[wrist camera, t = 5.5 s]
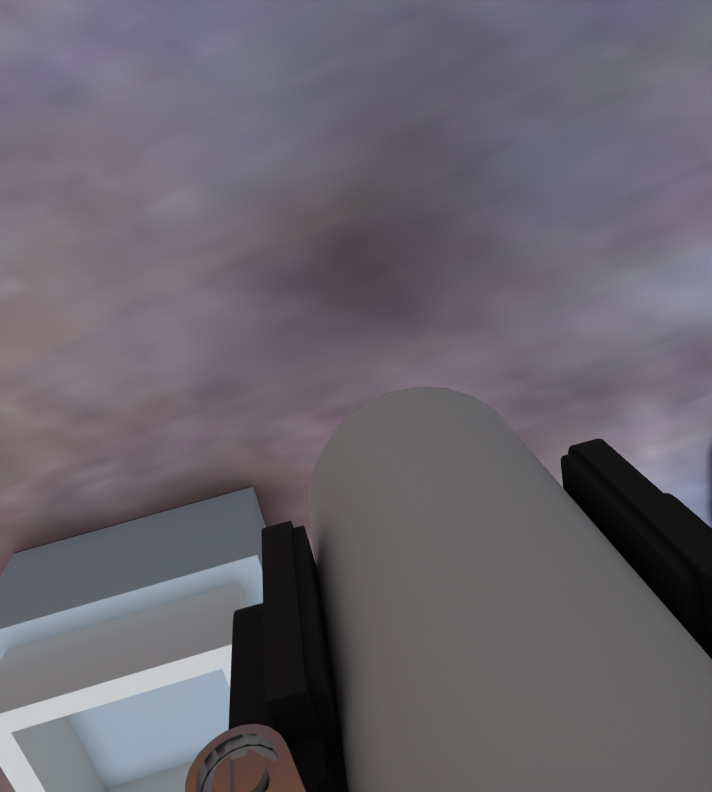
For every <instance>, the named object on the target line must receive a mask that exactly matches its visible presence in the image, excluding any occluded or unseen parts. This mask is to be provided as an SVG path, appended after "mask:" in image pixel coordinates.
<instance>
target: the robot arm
mask: <svg viewBox="0 0 712 792" xmlns="http://www.w3.org/2000/svg"><path fill="white" fill-rule="evenodd" d="M561 469H562V479H563V488H564V490H565V491H566V492H567V493H568V495H569V496H570V497H571V498H572V499H573V500H574V501H575V503H576V504H577V505H578V506H579V507H580V508H581V509H582V511H583V512H584V513H585V514H586V515H587V516H588V518H589V519H590V520H591V521H592V522H593V523H594V524H595V526H596V527H597V528H598V529H599V530H600V531H601V533H602V534H603V535H604V536H605V537H606V538H607V539H608V541H609V542H610V543H611V544H612V545H613V546H614V547H615V549H616V550H617V551H618V552H619V553H620V554H621V556H622V557H623V558H624V559H625V560H626V561H627V562H628V564H629V565H630V566H631V567H632V568H633V569H634V570H635V572H636V573H637V574H638V575H639V576H640V577H641V579H642V580H643V581H644V582H645V583H646V584H647V585H648V587H649V588H650V589H651V590H652V591H653V592H654V594H655V595H656V596H657V597H658V598H659V599H660V600H661V602H662V603H663V604H664V605H665V606H666V607H667V608H668V610H669V611H670V612H671V613H672V614H673V615H674V617H675V618H676V619H677V620H678V621H679V622H680V623H681V625H682V626H683V627H684V628H685V629H686V630H687V631H688V633H689V634H690V635H691V636H692V637H693V638H694V640H695V641H696V642H697V643H698V644H699V645H700V646H701V648H702V649H703V650H704V651H705V652H706V653H707V655H708V656H709V657H710V658H711V659H712V528H711V527H709V526H708V525H707V524H706V523H705V522H704V521H702V520H701V519H700V518H699V517H698V516H697V515H696V514H694V513H693V512H692V511H691V510H690V509H689V508H687V507H686V506H685V505H684V504H683V503H682V502H681V501H679V500H678V499H677V498H676V497H674V496H673V495H671V494H668V493H663V492H661V491H660V490H659V489H658V488H657V487H656V486H655V485H654V484H652V483H651V482H650V481H649V480H648V479H647V478H646V477H644V476H643V475H642V474H641V473H640V472H639V471H638V470H637V469H635V468H634V467H633V466H632V465H631V464H630V463H629V462H628V461H626V460H625V459H624V458H623V457H622V456H621V455H620V454H618V453H617V452H616V451H615V450H614V449H613V448H612V447H611V446H609V445H608V444H607V443H606V442H605V441H604V440H602V439H594V440H591V441H587V442H583V443H579V444H576V445H572V446H570V448H569V451H568V455H564V456H562V458H561ZM261 536H262V582H263V603H260V604H256V605H253V606H249V607H245V608H242V609H238V610H235V612H234V615H233V630H232V654H231V679H230V703H229V728H228V730H227V731H225V732H223V733H222V734H220V735H219V736H217V737H216V738H214V739H213V740H211V741H210V742H209V743H208V744H207V745H206V746H205V747H204V748H203V749H202V750H201V751H200V752H199V753H198V755H197V757H196V758H195V760H194V762H193V763H192V765H191V767H190V768H189V772H188V775H187V778H186V781H185V792H349V791H348V784H347V777H346V770H345V763H344V756H343V749H342V740H341V733H340V726H339V719H338V712H337V705H336V698H335V691H334V684H333V678H332V671H331V664H330V657H329V650H328V643H327V636H326V630H325V623H324V616H323V609H322V602H321V595H320V588H319V582H318V575H317V568H316V564H315V561H314V557H313V554H312V550H311V547H310V544H309V540H308V537H307V533H306V530H305V527H304V525H303V526H299V527H296V528H293V525H292V522H291V521H288V522H284V523H280V524H277V525H273V526H269V527H265V528H262V531H261Z"/></svg>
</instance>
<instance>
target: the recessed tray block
mask: <svg viewBox="0 0 712 792" xmlns="http://www.w3.org/2000/svg"><path fill="white" fill-rule="evenodd" d="M265 527H266V525H265V522H264V519H263V516H262V512H261V509H260V506H259V503H258V500H257V497H256V494H255V491H254V488H253V487H250V488H246V489H243V490H239V491H235V492H232V493H228V494H225V495H221V496H218V497H214V498H210V499H207V500H203V501H200V502H196V503H193V504H189V505H186V506H182V507H178V508H175V509H171V510H168V511H164V512H161V513H157V514H153V515H150V516H146V517H143V518H139V519H136V520H132V521H128V522H125V523H121V524H118V525H114V526H111V527H107V528H103V529H100V530H96V531H93V532H89V533H86V534H82V535H78V536H75V537H71V538H68V539H64V540H61V541H57V542H53V543H50V544H46V545H43V546H39V547H36V548H32V549H28V550H25V551H21V552H18V553H14V554H13V555H12V557H11V559H10V561H9V563H8V564H7V566H6V568H5V570H4V572H3V574H2V575H1V577H0V767H1V768H2V770H3V772H4V773H5V775H6V776H7V778H8V780H9V781H10V783H11V785H12V786H13V788H14V789H15V791H16V792H185V781H186V778H187V775H188V772H189V768H190V767H191V765H192V763H193V762H194V760H195V758H196V757H197V755H198V753H199V752H200V751H201V750H202V749H203V748H204V747H205V746H206V745H207V744H208V743H209V742H210V741H211V740H213V739H214V738H216V737H217V736H219V735H220V734H222V733H223V732H225V731H227V730H228V728H229V703H230V679H231V654H232V630H233V615H234V612H235V610H238V609H242V608H245V607H249V606H253V605H256V604H260V603H263V582H262V536H261V531H262V528H265Z"/></svg>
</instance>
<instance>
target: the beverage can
mask: <svg viewBox="0 0 712 792" xmlns="http://www.w3.org/2000/svg"><path fill="white" fill-rule="evenodd" d="M307 507H308V514H309V521H310V528H311V535H312V541H313V548H314V555H315V562H316V568H317V575H318V582H319V588H320V595H321V602H322V609H323V616H324V623H325V630H326V636H327V643H328V650H329V657H330V664H331V671H332V678H333V684H334V691H335V698H336V705H337V712H338V719H339V726H340V733H341V740H342V749H343V756H344V763H345V770H346V777H347V784H348V791H349V792H712V659H711V658H710V657H709V656H708V655H707V653H706V652H705V651H704V650H703V649H702V648H701V646H700V645H699V644H698V643H697V642H696V641H695V640H694V638H693V637H692V636H691V635H690V634H689V633H688V631H687V630H686V629H685V628H684V627H683V626H682V625H681V623H680V622H679V621H678V620H677V619H676V618H675V617H674V615H673V614H672V613H671V612H670V611H669V610H668V608H667V607H666V606H665V605H664V604H663V603H662V602H661V600H660V599H659V598H658V597H657V596H656V595H655V594H654V592H653V591H652V590H651V589H650V588H649V587H648V585H647V584H646V583H645V582H644V581H643V580H642V579H641V577H640V576H639V575H638V574H637V573H636V572H635V570H634V569H633V568H632V567H631V566H630V565H629V564H628V562H627V561H626V560H625V559H624V558H623V557H622V556H621V554H620V553H619V552H618V551H617V550H616V549H615V547H614V546H613V545H612V544H611V543H610V542H609V541H608V539H607V538H606V537H605V536H604V535H603V534H602V533H601V531H600V530H599V529H598V528H597V527H596V526H595V524H594V523H593V522H592V521H591V520H590V519H589V518H588V516H587V515H586V514H585V513H584V512H583V511H582V509H581V508H580V507H579V506H578V505H577V504H576V503H575V501H574V500H573V499H572V498H571V497H570V496H569V495H568V493H567V492H566V491H565V490H564V489H563V488H562V486H561V485H560V484H559V483H558V482H557V481H556V480H555V478H554V477H553V476H552V475H551V474H550V473H549V472H548V470H547V469H546V468H545V467H544V466H543V465H542V463H541V462H540V461H539V460H538V459H537V458H536V457H535V455H534V454H533V453H532V452H531V451H530V450H529V448H528V447H527V446H526V445H525V444H524V443H523V442H522V440H521V439H520V438H519V437H518V436H517V435H516V434H515V432H514V431H513V430H512V429H511V428H510V427H509V425H508V424H507V423H506V422H505V421H504V420H503V419H502V417H501V416H500V415H499V414H498V413H497V412H496V411H495V410H493V409H492V408H490V407H489V406H487V405H486V404H484V403H483V402H481V401H480V400H478V399H477V398H475V397H473V396H470V395H467V394H464V393H460V392H457V391H454V390H451V389H448V388H434V387H413V388H409V389H404V390H399V391H394V392H390V393H386V394H384V395H382V396H380V397H378V398H376V399H374V400H372V401H370V402H368V403H366V404H364V405H362V406H360V407H359V408H358V409H357V410H356V411H355V412H354V413H353V414H351V415H350V416H349V417H348V418H347V419H346V420H345V421H344V422H343V423H342V424H341V425H340V426H339V427H338V428H337V429H336V431H335V432H334V434H333V435H332V436H331V438H330V439H329V441H328V442H327V444H326V445H325V447H324V448H323V450H322V451H321V453H320V456H319V458H318V460H317V463H316V465H315V467H314V470H313V472H312V474H311V477H310V482H309V489H308V497H307Z"/></svg>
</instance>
